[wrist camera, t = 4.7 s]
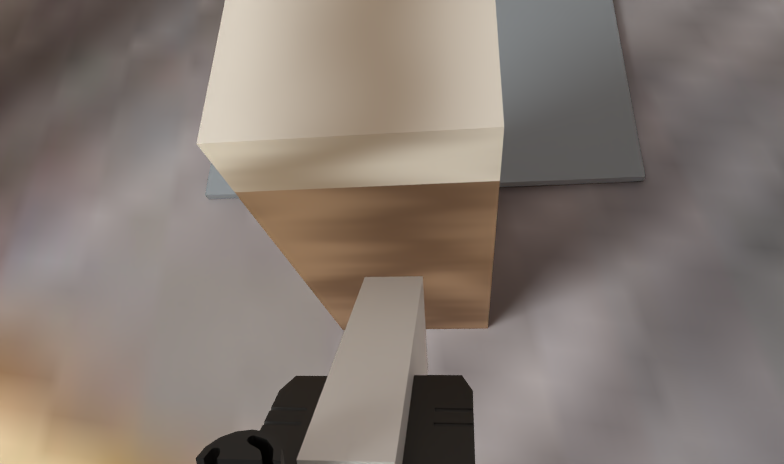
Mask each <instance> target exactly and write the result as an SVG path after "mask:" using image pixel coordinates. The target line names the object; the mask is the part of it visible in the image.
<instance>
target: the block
mask: <svg viewBox="0 0 784 464" xmlns="http://www.w3.org/2000/svg"><path fill="white" fill-rule="evenodd" d="M503 136H504V116H503V102H502V88H501V73H500V59H499V45H498V30H497V16H496V2H495V0H225V4H224V9H223V14H222V19H221V24H220V29H219V34H218V39H217V44H216V49H215V54H214V59H213V64H212V69H211V74H210V79H209V84H208V89H207V94H206V99H205V104H204V109H203V114H202V119H201V124H200V129H199V134H198V139H197V145H198V146H199V148H200V149H201V150H202V151H203V153H204V154H205V155H206V156H207V158H208V159H209V160H210V162H211V163H212V164H213V165H214V167H215V168H216V169H217V170H218V172H219V173H220V174H221V176H222V177H223V178H224V179H225V181H226V182H227V183H228V184H229V186H230V187H231V188H232V190H233V191H234V192H235V193H236V195H237V196H238V197H239V198H240V200H241V201H242V202H243V203H244V205H245V206H246V207H247V209H248V210H249V211H250V212H251V214H252V215H253V216H254V217H255V219H256V220H257V221H258V223H259V224H260V225H261V226H262V228H263V229H264V230H265V231H266V233H267V234H268V235H269V237H270V238H271V239H272V240H273V242H274V243H275V244H276V245H277V247H278V248H279V249H280V251H281V252H282V253H283V254H284V256H285V257H286V258H287V259H288V261H289V262H290V263H291V265H292V266H293V267H294V268H295V270H296V271H297V272H298V273H299V275H300V276H301V277H302V278H303V280H304V281H305V282H306V284H307V285H308V286H309V287H310V289H311V290H312V291H313V292H314V294H315V295H316V296H317V298H318V299H319V300H320V301H321V303H322V304H323V305H324V306H325V308H326V309H327V310H328V312H329V313H330V314H331V315H332V317H333V318H334V319H335V320H336V322H337V323H338V324H339V326H340V327H341V328H342V329H343V330H345V329H346V326H347V323H348V321H349V318H350V315H351V313H352V310H353V307H354V305H355V302H356V299H357V297H358V294H359V291H360V289H361V286H362V283H363V281H364V278H365V277H407V276H423V290H424V309H425V327H426V329H471V328H488V319H489V307H490V295H491V282H492V270H493V258H494V246H495V234H496V221H497V209H498V197H499V185H500V173H501V160H502V148H503Z"/></svg>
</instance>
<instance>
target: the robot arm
mask: <svg viewBox="0 0 784 464" xmlns="http://www.w3.org/2000/svg"><path fill="white" fill-rule="evenodd" d="M427 371H428V363H427V345H426V327H425V309H424V290H423V276H407V277H365V278H364V281H363V283H362V286H361V289H360V291H359V294H358V297H357V299H356V302H355V305H354V307H353V310H352V313H351V315H350V318H349V321H348V323H347V326H346V329H345V331H344V334H343V337H342V339H341V342H340V345H339V347H338V350H337V353H336V355H335V358H334V361H333V363H332V366H331V369H330V371H329V374H328V376H296V377H294V378H293V379H292V380H291V381H290V382H289V383H288V384H286V385H285V386H284V387H283V388H282V389H281V390H280V391H279V393H278V395H277V397H276V399H275V401H274V403H273V405H272V407H271V411H269V413H268V415H267V417H266V419H265V421H264V422H265V423H264V425H263V426H262V428H261V430H260V431H257V430H246V431H237V432H234V433H231V434H228V435H225V436H223V437H220V438H218V439H217V440H215V441H214V442H212V443H211V444H209V445H208V446H206V447H205V448H204V449H203V451H202V452H201V453H200V454H199V455H198V456H197V457H196V461H197V464H475V449H474V418H473V391H472V389H471V388H470V386H469V385H468V383H467V382H466V381H465V379H464V378H463V376H462V375H427Z"/></svg>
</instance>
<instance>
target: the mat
mask: <svg viewBox="0 0 784 464" xmlns="http://www.w3.org/2000/svg"><path fill="white" fill-rule="evenodd" d="M495 2H496V16H497V30H498V45H499V59H500V73H501V88H502V102H503V116H504V136H503V148H502V160H501V173H500V185H499V187H512V186H536V185H560V184H584V183H608V182H632V181H643V180H644V178H645V171H644V166H643V161H642V155H641V150H640V145H639V139H638V134H637V129H636V123H635V118H634V113H633V107H632V102H631V96H630V91H629V86H628V80H627V75H626V70H625V64H624V59H623V54H622V48H621V43H620V38H619V32H618V27H617V21H616V16H615V11H614V5H613V0H495ZM205 196H206V197H207V198H208V199H223V198H239V197H238V196H237V195H236V193H235V192H234V191H233V190H232V188H231V187H230V186H229V184H228V183H227V182H226V181H225V179H224V178H223V177H222V176H221V174H220V173H219V172H218V170H217V169H216V168H215V167H214V165H213V164H212V163H211V166H210V172H209V177H208V183H207V188H206V193H205Z"/></svg>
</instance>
